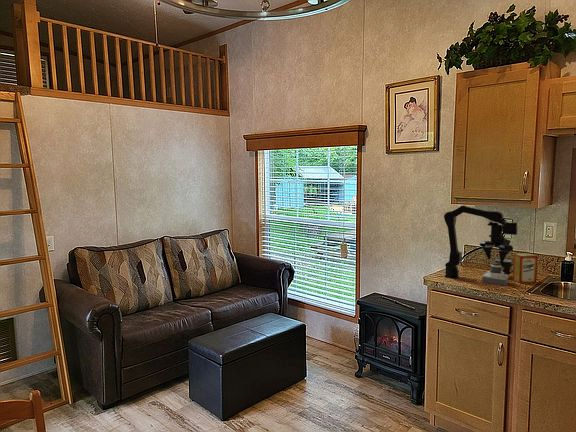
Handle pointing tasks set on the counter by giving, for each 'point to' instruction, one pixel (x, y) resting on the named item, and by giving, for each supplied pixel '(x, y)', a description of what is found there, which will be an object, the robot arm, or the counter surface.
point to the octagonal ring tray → (495, 278)
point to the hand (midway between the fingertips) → (495, 260)
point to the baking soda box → (525, 268)
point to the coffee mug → (505, 266)
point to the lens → (495, 267)
